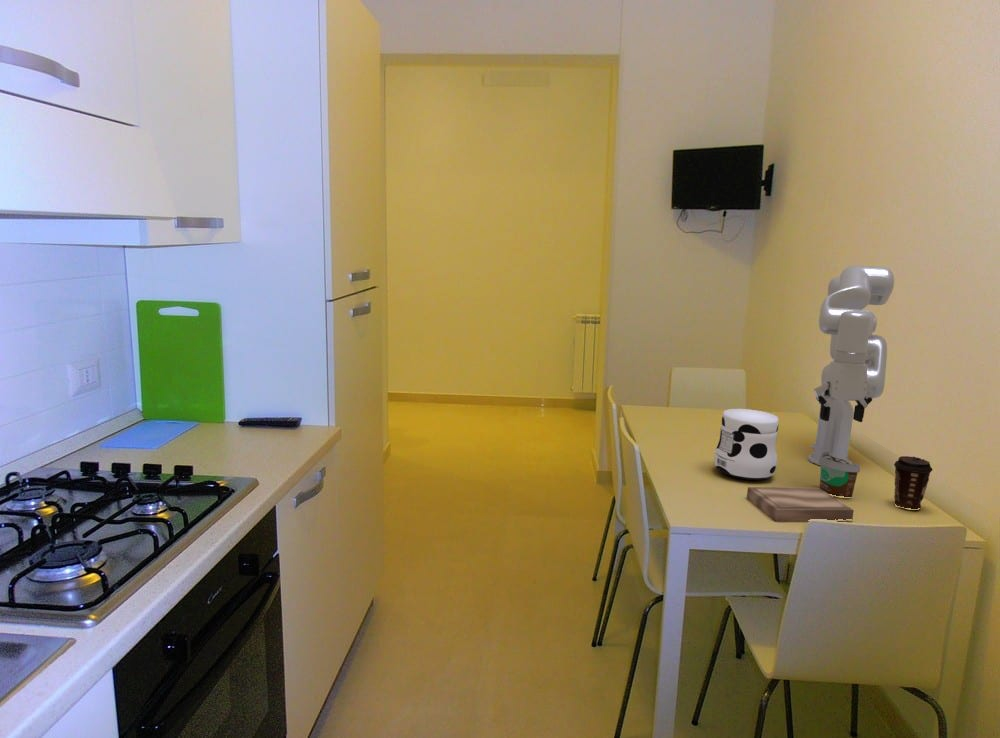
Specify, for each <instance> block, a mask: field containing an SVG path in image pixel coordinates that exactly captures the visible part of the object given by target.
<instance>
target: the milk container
mask: <svg viewBox="0 0 1000 738" xmlns="http://www.w3.org/2000/svg"><path fill="white" fill-rule="evenodd" d="M778 431H779V417H778V416H776V415H775V414H773V413H769V412H767V411H761V410H758V409H757V410H756V409H755V410H754V409H750V408H748V409H747V408H728V409H726V410H723V413H722V418H721V424H720V432H719V433H720V435H719V440H718V443H717V445H716V448H715V452H714V465H715V467H716V469H717V470H718V471H719V472H721V473H722V474H724V475H727V476H729V477H733V478H736V479H741V480H750V481H759V480H761V481H762V480H767V479H770V478H772V476H774V474H775V473H776V469H777V465H778V456H777V450H776V449H777V448H776V447H777V446H776V445H777V438H778Z"/></svg>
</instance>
